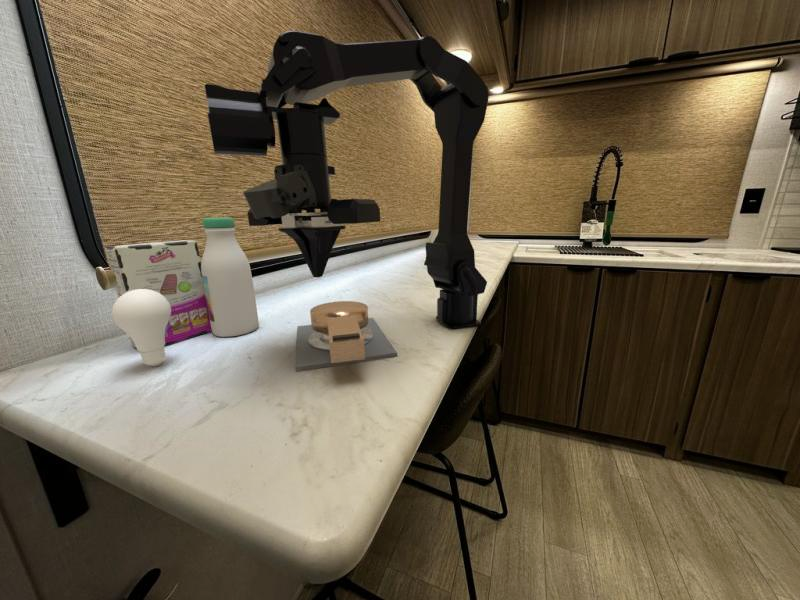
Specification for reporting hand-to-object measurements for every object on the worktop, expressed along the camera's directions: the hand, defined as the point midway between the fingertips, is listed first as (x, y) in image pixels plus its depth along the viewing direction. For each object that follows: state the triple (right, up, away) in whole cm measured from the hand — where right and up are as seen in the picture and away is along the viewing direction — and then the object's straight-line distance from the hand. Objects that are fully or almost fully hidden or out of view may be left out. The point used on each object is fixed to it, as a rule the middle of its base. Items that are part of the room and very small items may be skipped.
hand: (317, 276), depth 45 cm
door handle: (+3, -8, +2) cm, 9 cm away
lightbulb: (-23, -13, 0) cm, 26 cm away
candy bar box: (-27, -10, +10) cm, 31 cm away
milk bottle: (-18, -9, +13) cm, 24 cm away
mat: (+2, -10, +7) cm, 12 cm away
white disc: (+2, -10, +7) cm, 12 cm away
